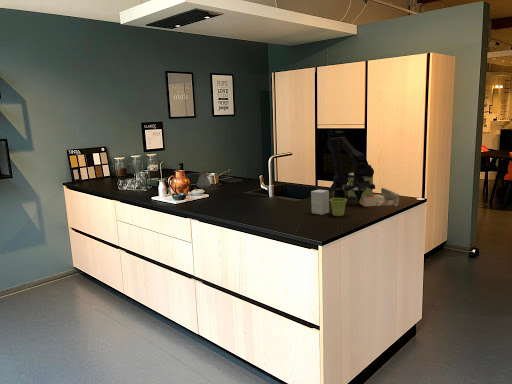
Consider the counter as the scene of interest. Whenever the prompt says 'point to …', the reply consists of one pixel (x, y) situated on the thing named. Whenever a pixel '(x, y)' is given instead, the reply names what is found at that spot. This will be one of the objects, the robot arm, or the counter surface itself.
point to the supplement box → (320, 201)
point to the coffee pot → (203, 180)
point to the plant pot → (338, 206)
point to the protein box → (350, 181)
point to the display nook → (388, 198)
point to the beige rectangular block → (371, 200)
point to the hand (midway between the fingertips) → (358, 201)
